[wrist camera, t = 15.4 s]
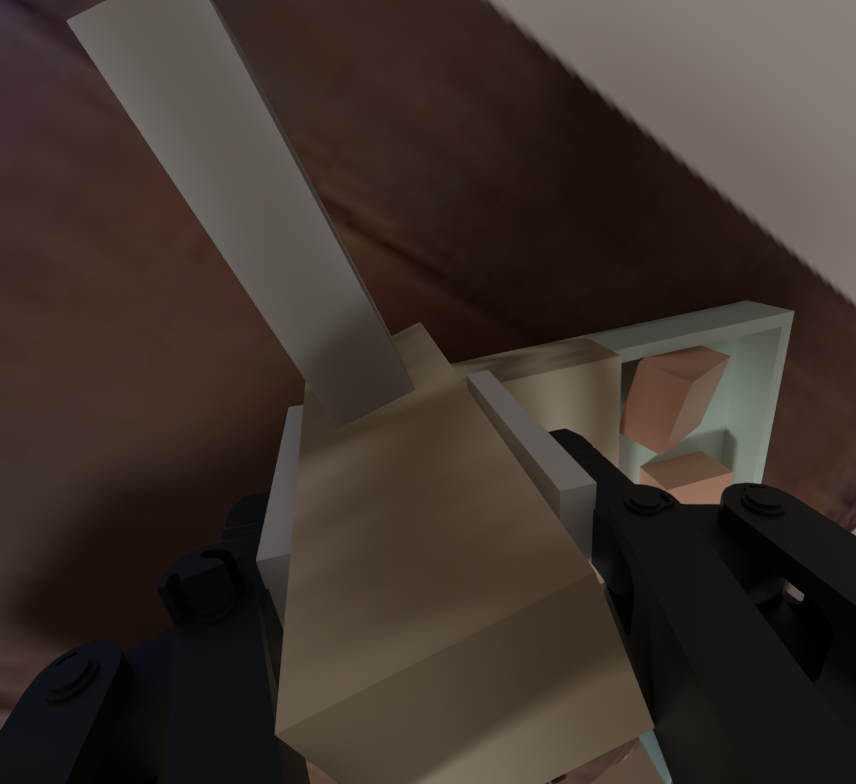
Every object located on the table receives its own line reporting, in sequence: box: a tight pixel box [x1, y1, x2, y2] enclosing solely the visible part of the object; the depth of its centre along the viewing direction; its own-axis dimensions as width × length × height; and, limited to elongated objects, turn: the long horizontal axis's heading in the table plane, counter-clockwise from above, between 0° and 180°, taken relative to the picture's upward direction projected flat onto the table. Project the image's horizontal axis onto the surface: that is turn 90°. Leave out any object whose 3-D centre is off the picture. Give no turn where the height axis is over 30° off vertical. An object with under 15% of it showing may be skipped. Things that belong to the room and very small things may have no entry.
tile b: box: [619, 345, 731, 456], centre depth 32 cm, size 6×6×4 cm
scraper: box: [67, 0, 655, 784], centre depth 10 cm, size 4×20×10 cm, turn 25°
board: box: [450, 336, 622, 583], centre depth 34 cm, size 16×20×5 cm
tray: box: [583, 300, 794, 485], centre depth 36 cm, size 14×20×4 cm
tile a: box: [639, 451, 734, 504], centre depth 39 cm, size 6×6×4 cm
